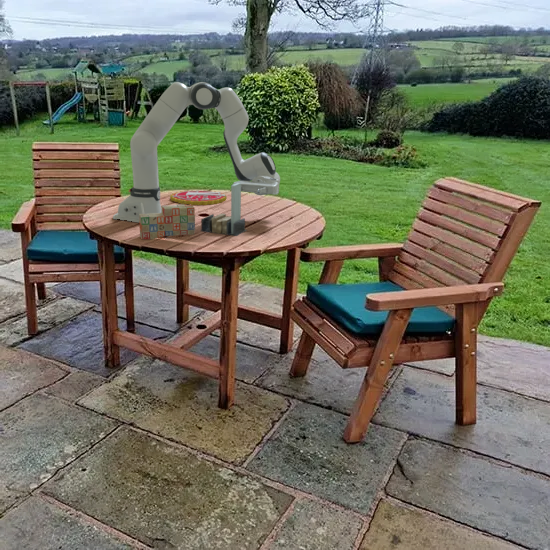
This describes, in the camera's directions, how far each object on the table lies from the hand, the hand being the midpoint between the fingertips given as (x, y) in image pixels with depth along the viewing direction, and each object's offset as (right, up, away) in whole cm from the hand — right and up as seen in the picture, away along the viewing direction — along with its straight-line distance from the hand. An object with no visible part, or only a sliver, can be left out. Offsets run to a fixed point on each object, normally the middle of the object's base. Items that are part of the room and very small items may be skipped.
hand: (248, 190), depth 226 cm
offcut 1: (-12, -17, -3) cm, 21 cm away
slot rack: (-10, -18, -3) cm, 21 cm away
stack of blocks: (-32, -21, -11) cm, 40 cm away
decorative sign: (-30, +4, +59) cm, 67 cm away
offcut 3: (-8, -18, -4) cm, 20 cm away
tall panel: (-5, -18, -6) cm, 20 cm away
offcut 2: (-10, -17, -4) cm, 21 cm away
